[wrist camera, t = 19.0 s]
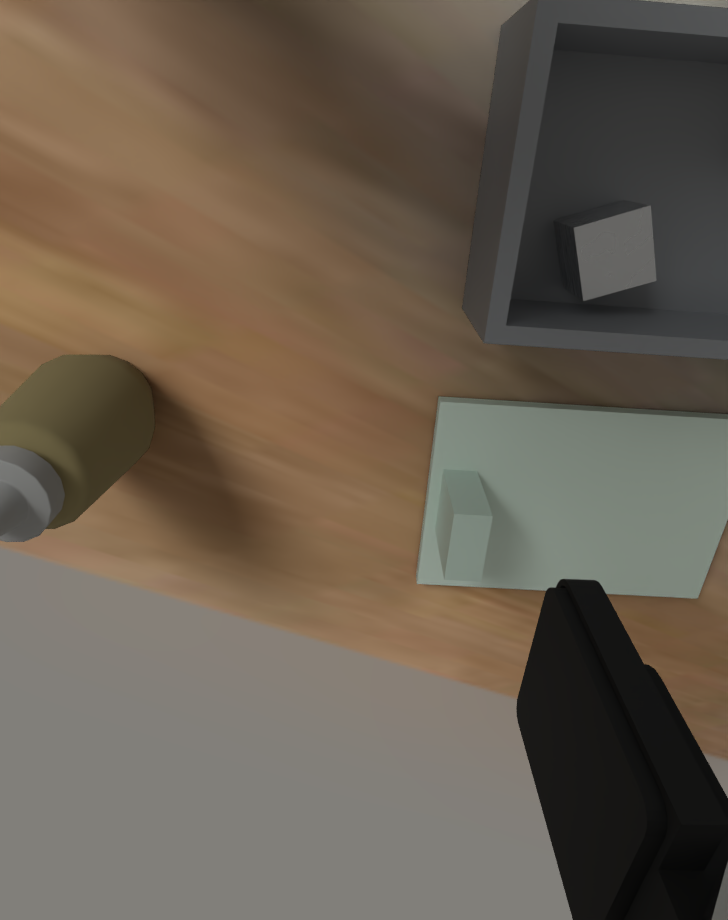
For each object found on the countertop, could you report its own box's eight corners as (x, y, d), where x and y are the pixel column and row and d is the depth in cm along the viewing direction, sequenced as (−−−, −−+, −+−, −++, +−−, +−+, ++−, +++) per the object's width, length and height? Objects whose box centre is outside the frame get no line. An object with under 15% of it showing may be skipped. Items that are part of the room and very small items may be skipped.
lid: (437, 393, 43) (451, 439, 36) (751, 412, 43) (823, 461, 37) (415, 571, 50) (423, 638, 43) (688, 585, 50) (738, 654, 43)
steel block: (553, 220, 37) (573, 227, 33) (622, 199, 36) (650, 205, 32) (562, 287, 38) (583, 301, 35) (628, 268, 38) (656, 280, 34)
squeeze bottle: (110, 468, 45) (-32, 647, 29) (24, 380, 42) (-187, 524, 26) (195, 410, 43) (94, 567, 27) (111, 312, 40) (-59, 424, 24)
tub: (501, 25, 33) (539, -9, 26) (902, 59, 34) (1047, 35, 27) (462, 308, 40) (483, 343, 33) (798, 331, 41) (891, 370, 33)
